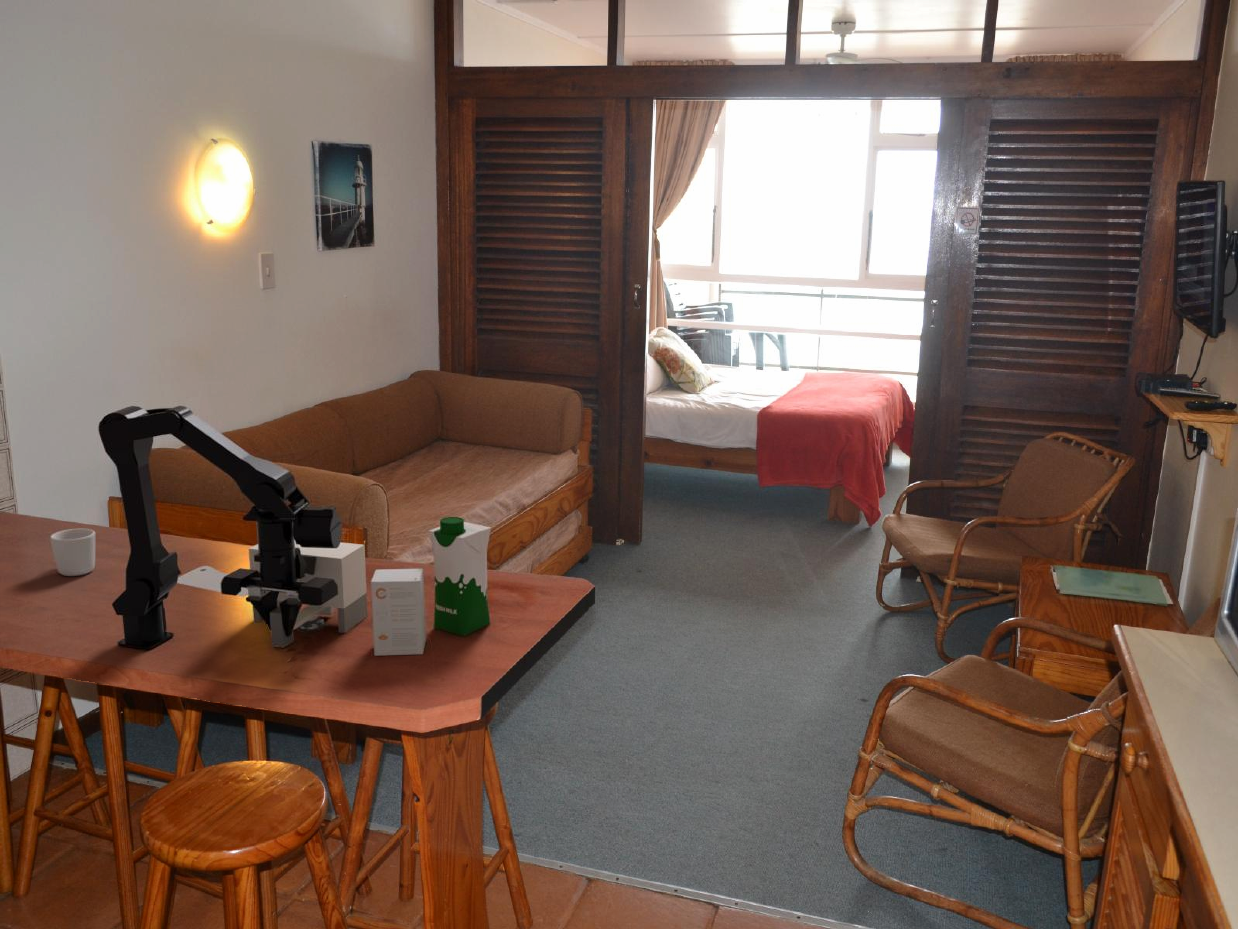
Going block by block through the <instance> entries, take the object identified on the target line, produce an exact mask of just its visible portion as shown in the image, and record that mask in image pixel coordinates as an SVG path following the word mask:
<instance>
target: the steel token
mask: <svg viewBox="0 0 1238 929" xmlns="http://www.w3.org/2000/svg"><path fill="white" fill-rule="evenodd" d="M324 627H325V621H324V618H323V617H322V616H317V615H315V616H314V617H312V618H311V619H309V620H308V621H306V622H305V623H303V624H302V625H300V626H299V627H297V628H296V630H297V631H298V632H300V633H307V634H308V633H316V632H318V631H321V630H323V629H324Z"/></svg>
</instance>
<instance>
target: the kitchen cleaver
mask: <svg viewBox="0 0 1238 929" xmlns="http://www.w3.org/2000/svg"><path fill="white" fill-rule="evenodd" d="M228 574H229V573H228ZM228 574H227V573H225V572H222V571H220V570H217V569H215V568H214V567H212V566H210V565H202V566H199V567H197V568H195V569H193V570H191V571H189V572H187V573H184V574H183V575H179V576H178V581H177V584H179V585H185V586H190V587H195V588H199V589H200V588H201V589H204V590H208V591H209V590H210V591H213V592H219V593H221V584H220V583H221V581H222V579H223V577H224V576H226V575H228ZM236 596H237V597H243V598H244V597H247V596H248V589H247V588H242V587H241V592H240V593H239V594H238V595H236Z"/></svg>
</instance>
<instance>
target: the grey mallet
mask: <svg viewBox="0 0 1238 929" xmlns="http://www.w3.org/2000/svg"><path fill="white" fill-rule="evenodd" d="M317 615H324V616H330V617H331V616H333V615H334V607H328V606H315V605H307V606H305V607H304V608H302V609H300V610H299V613H298V616H297V619H296V622H295V625H294V629H293V632H292V634H291V635H290V636H289V637H287V636H286V634H285V631H284V627H283V621H282V616H281V610H280V606H279V607H277V608H276V609H274V610H272V611H271V612H270V626H271V631H270V637H271V638H270V640H271V646H272V647H275V648H282V649H283V648H285V647H287V646H288V645H289V644H291V643H293V642H294V630H297V627H299V626H300V625H302V624H303V623H305V622H306V621H308V620H309V619H311V618H312V617H314V616H317Z"/></svg>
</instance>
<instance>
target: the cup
mask: <svg viewBox="0 0 1238 929" xmlns="http://www.w3.org/2000/svg"><path fill="white" fill-rule="evenodd" d="M49 541H50V544H51V548H52V553H53V557H54V560H55V561H54V562H55V565H56V569H57V571H58V573H59V574H60V575H62V576H66V577H75V576H76V577H77V576H78V577H79V576H83V575H86V574H88V573H91V572H92V571H93V570H94V569H95V565H96V531H94V530H93V529H91V528H70V529H65V530H64V529H63V530H60V531H57V532H55V533H52V534H51V535H50V537H49Z"/></svg>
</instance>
